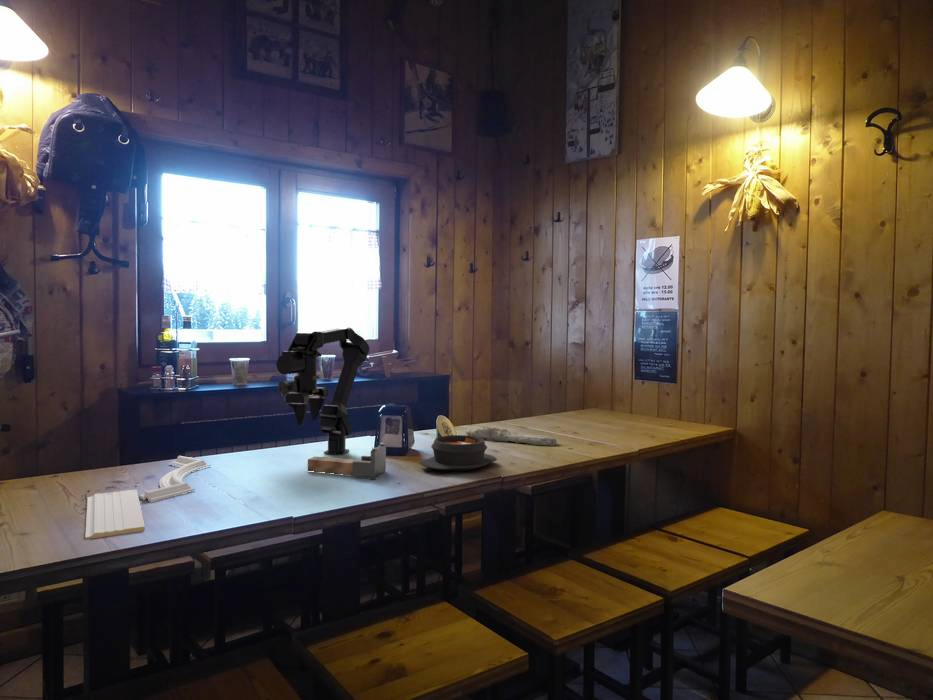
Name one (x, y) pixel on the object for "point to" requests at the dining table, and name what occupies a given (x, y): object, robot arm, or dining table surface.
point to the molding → (174, 480)
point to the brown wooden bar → (331, 465)
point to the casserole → (458, 453)
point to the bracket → (371, 464)
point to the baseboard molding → (113, 514)
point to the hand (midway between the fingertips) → (307, 422)
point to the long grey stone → (510, 436)
